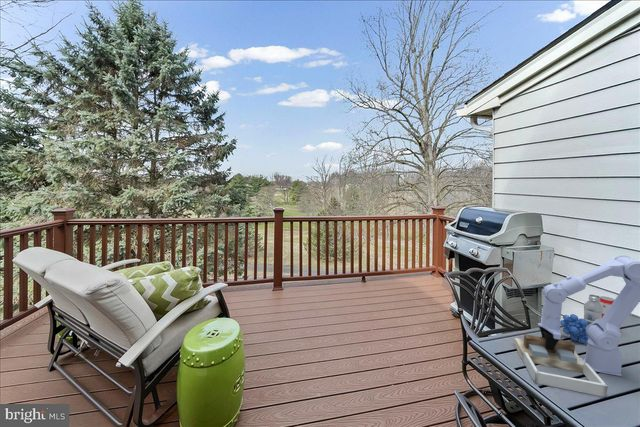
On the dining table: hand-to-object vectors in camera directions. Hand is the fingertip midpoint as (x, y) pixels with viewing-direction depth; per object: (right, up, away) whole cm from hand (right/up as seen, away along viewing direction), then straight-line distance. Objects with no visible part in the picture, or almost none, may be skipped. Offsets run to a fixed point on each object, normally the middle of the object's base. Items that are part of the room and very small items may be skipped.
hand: (548, 347), depth 119 cm
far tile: (-6, -2, -2) cm, 6 cm away
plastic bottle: (+31, -3, +15) cm, 34 cm away
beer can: (+44, -2, +22) cm, 49 cm away
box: (-4, -6, -12) cm, 14 cm away
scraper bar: (0, -1, 0) cm, 1 cm away
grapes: (+21, -3, +12) cm, 25 cm away
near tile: (+3, -2, -5) cm, 6 cm away
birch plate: (0, -4, 0) cm, 4 cm away
